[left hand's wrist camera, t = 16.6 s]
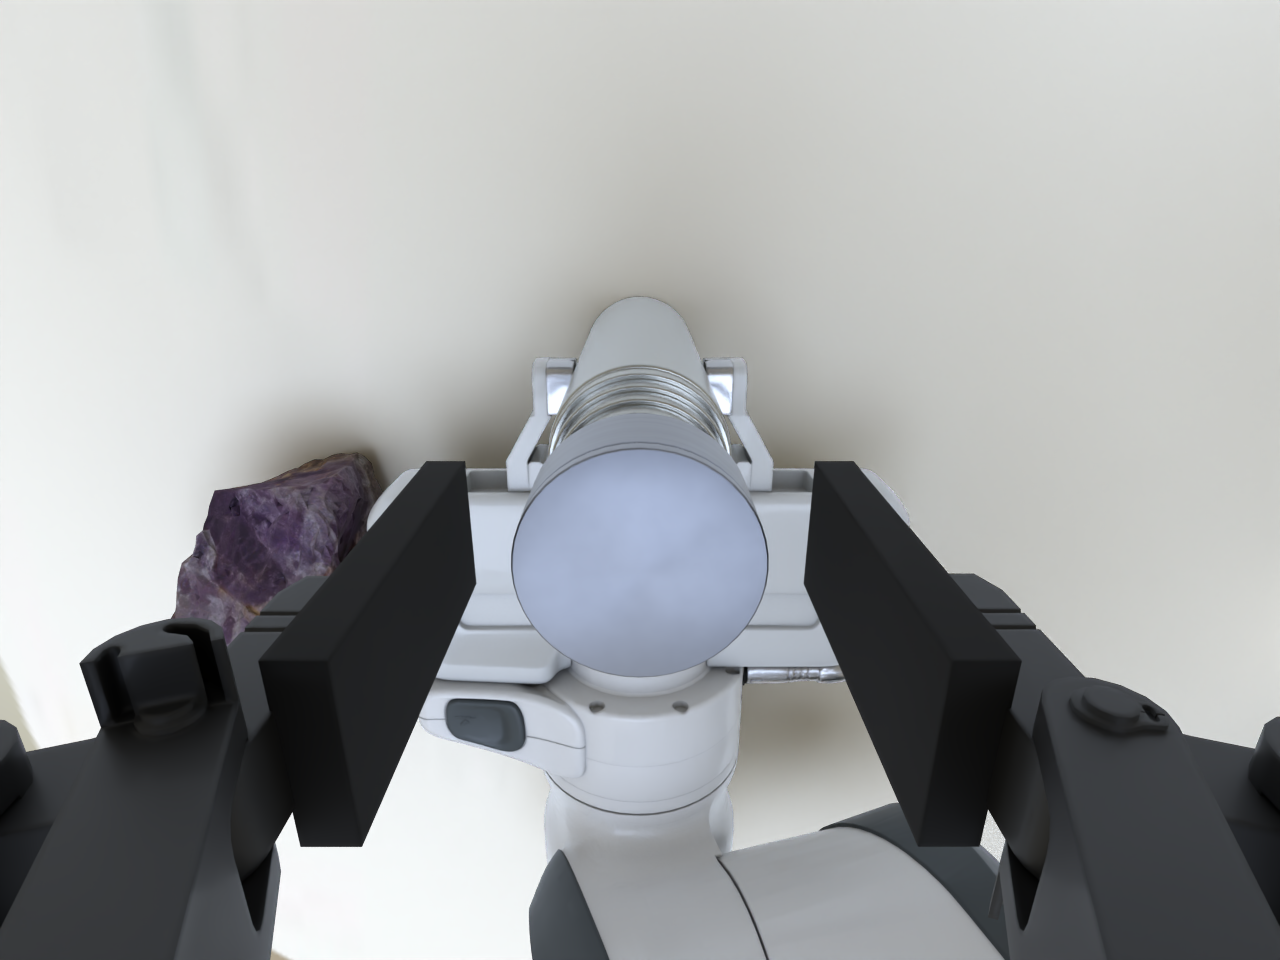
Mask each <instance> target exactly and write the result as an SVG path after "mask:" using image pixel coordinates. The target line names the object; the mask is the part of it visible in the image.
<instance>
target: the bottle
mask: <svg viewBox="0 0 1280 960" xmlns="http://www.w3.org/2000/svg"><path fill="white" fill-rule="evenodd" d="M633 413H646V414H658V415H663V416H668V417H672V418H675V419H678V420H681V421H684V422H686V423H688V424H691V425H693V426H695V427H697V428H699V429H700V430H702V431H703V432H705V433H706V434H708V435H709V436H711V437H712V438H713V439H714V440H716V441H717V442H718V443H719V444H720V445H721V446H722V447H723V448H724V449H725V450H726V451H727V452H728V454H729V455H730V456H731V457H732V452H731V441H730V434H729V430H728V426H727V423H726V421H725V418H724V416H723V413H722V411H721V408H720V406H719V403H718V401H717V398H716V396H715V393H714V391H713V389H712V386H711V384H710V381H709V379H708V376H707V374H706V371H705V369H704V366H703V364H702V361H701V359H700V356H699V354H698V352H697V349H696V347H695V344H694V342H693V339H692V337H691V334H690V332H689V329H688V327H687V325H686V323H685V321H684V320H683V319H682V317H681V316H680V315H679V314H678V313H677V312H676V311H675V310H674V309H673V308H672V307H670V306H669V305H667V304H666V303H664V302H662V301H660V300H657V299H654V298H650V297H630V298H626V299H622V300H620V301H618V302H615V303H614V304H612V305H610V306H609V307H608V308H606V309H605V310H604V311H603V312H602V313H601V314H600V315H599V317H598V318H597V319H596V321H595V322H594V324H593V326H592V328H591V331H590V333H589V335H588V338H587V340H586V343H585V345H584V348H583V350H582V353H581V355H580V358H579V360H578V363H577V365H576V368H575V370H574V372H573V375H572V377H571V380H570V382H569V385H568V387H567V390H566V392H565V395H564V397H563V400H562V402H561V405H560V407H559V410H558V412H557V414H556V417H555V420H554V422H553V425H552V428H551V433H550V437H549V448H548V457H549V455H550V454H551V453H552V452H553V451H554V450H555V449H556V447H557V446H558V445H560V444H561V443H562V442H563V441H564V440H565V439H566V438H568V437H569V436H570V435H572V434H573V433H575V432H576V431H578V430H579V429H581V428H583V427H585V426H587V425H589V424H591V423H593V422H596V421H599V420H602V419H605V418H608V417H612V416H617V415H622V414H633Z"/></svg>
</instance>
